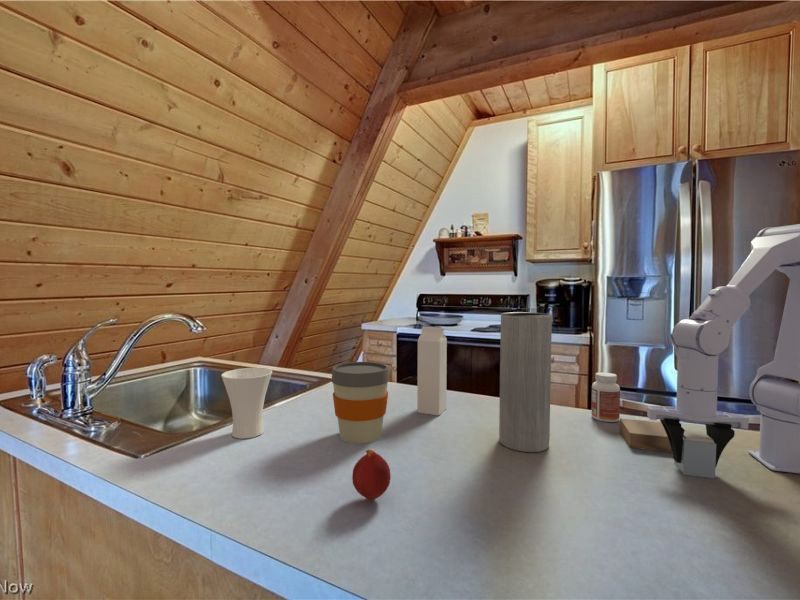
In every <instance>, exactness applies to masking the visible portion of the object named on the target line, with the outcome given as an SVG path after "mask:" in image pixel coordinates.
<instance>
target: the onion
mask: <svg viewBox="0 0 800 600" xmlns="http://www.w3.org/2000/svg"><path fill="white" fill-rule="evenodd" d="M365 452H366V454H365V455H363V456H361V457H360V459H358V460H357V462H356V463H355V465H354V467H353V469H352V477H351V480H352V485H353V487H354V489H355V490H356V492H357V493H358V494H359V495H361V496H363V498H365V499H366V500H368V501H370V502H373V501H375V500H377V499H378V498H380V497H382V495H383V494H385V492H386V491H387V490H388V488H389V486H390V483H391V469H390V466H389V463H388V462H387V460H386V459H385V458H383V456H381V454H379V453H377V452H376V451H375V450H374V449H373V448H369V449H367V450H365Z"/></svg>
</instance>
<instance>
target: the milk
mask: <svg viewBox="0 0 800 600" xmlns="http://www.w3.org/2000/svg"><path fill="white" fill-rule="evenodd" d="M447 342H448V339H447V337H446V335H445V332H444V327H441V326H439V327H438V326H422V327H421V333H420V335H419V337H418V339H417V394H416V395H417V396H416V397H417V405H416V406H417V413H418V414H426V415H433V416H438V417H440V416H441V414H442V413H444V412H445V411H446V410H447V373H448V371H447V367H448V366H447V365H448V364H447V361H448V359H447V358H448V357H447V356H448V355H447V350H448V349H447V347H448V344H447Z"/></svg>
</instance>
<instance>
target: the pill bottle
mask: <svg viewBox="0 0 800 600" xmlns="http://www.w3.org/2000/svg"><path fill="white" fill-rule="evenodd" d="M594 379H595V381H594V382H592V385H591V417H592V418H593V419H594V420H597V421H600V422H604V423H605V422H606V423H615V422H618V421H620V415H621V414H620V413H621V411H620V409H621V407H620V406H621V405H620V404H621V388H620V385H619V384H618V383H616V382H617V380H618V375H617V374H616V373H612V372H611V373H610V372H603V371H602V372H601V371H600V372H595V377H594Z"/></svg>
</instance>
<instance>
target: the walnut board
mask: <svg viewBox="0 0 800 600" xmlns="http://www.w3.org/2000/svg"><path fill="white" fill-rule="evenodd" d="M619 433H620V434H621V436H622V438H623V439H624V441H625V442H626V444H627V446H628V447H629V448H632V449H640V450H648V451H658V452H666V453H672V450H671V446H670V442H669V439H668V436H667V434H666V431H665V429H664V427H663V425H662V423H661V421H652V420H651V421H650V420H641V419H629V418H620V417H619Z"/></svg>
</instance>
